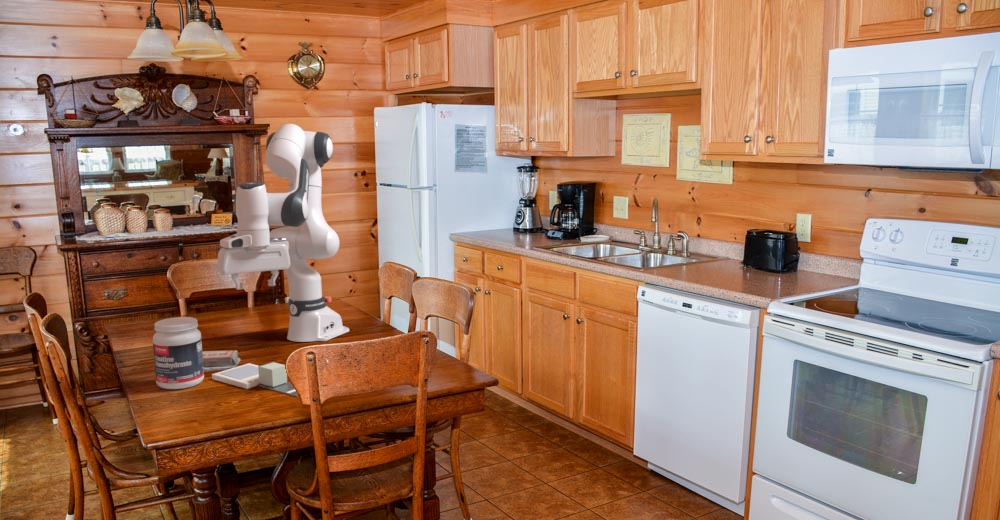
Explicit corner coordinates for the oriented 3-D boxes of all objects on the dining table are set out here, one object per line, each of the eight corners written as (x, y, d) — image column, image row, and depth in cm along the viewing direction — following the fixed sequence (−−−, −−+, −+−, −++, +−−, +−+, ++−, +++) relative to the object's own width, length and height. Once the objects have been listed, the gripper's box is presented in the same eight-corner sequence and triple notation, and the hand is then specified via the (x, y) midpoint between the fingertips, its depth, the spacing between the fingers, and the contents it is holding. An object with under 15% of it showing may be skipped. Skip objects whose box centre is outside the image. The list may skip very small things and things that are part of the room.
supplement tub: (153, 393, 211) (147, 328, 208) (159, 379, 223) (154, 318, 220) (202, 388, 214) (197, 325, 211) (206, 375, 227) (202, 314, 224)
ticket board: (249, 367, 233) (249, 362, 233) (323, 387, 214) (323, 381, 214) (212, 379, 223) (211, 373, 222) (287, 400, 204) (286, 394, 204)
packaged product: (240, 347, 240) (232, 356, 231) (241, 361, 241) (233, 371, 232) (180, 349, 239) (171, 358, 229) (182, 364, 239) (172, 373, 230)
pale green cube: (273, 378, 220) (272, 361, 220) (287, 382, 217) (286, 364, 216) (259, 383, 216) (258, 365, 216) (273, 387, 213) (271, 369, 212)
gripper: (284, 236, 225) (285, 282, 227) (214, 240, 213) (216, 289, 214) (292, 237, 220) (294, 285, 222) (221, 242, 208) (224, 292, 209)
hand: (255, 287), depth 218 cm, fingers open, 8 cm apart
